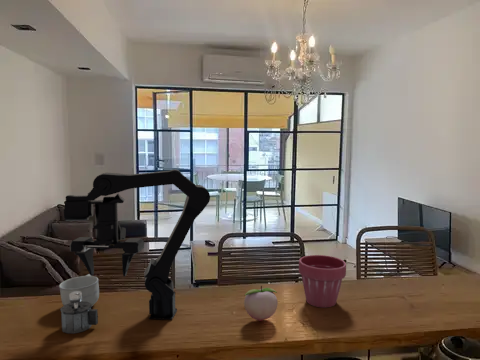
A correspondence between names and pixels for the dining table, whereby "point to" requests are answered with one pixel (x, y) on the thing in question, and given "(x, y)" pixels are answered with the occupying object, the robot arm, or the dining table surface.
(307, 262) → the plant pot
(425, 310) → the dining table surface
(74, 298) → the plunger
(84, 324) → the octagonal grey mug
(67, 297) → the teacup
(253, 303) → the decorative fruit
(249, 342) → the dining table surface
